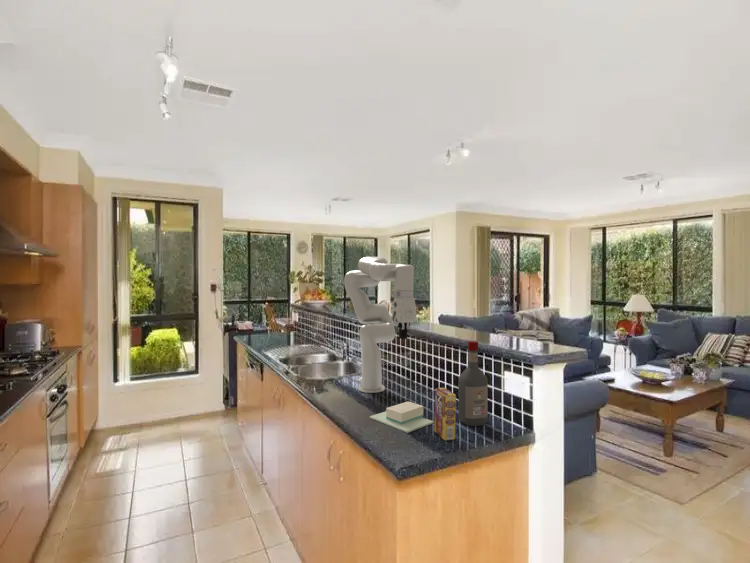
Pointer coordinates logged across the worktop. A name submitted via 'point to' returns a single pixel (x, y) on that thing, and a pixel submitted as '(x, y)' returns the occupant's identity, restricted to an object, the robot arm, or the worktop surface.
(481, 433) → the worktop surface
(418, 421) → the mat
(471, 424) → the liquor
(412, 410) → the tile
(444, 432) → the candy box
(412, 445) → the worktop surface
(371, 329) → the robot arm
